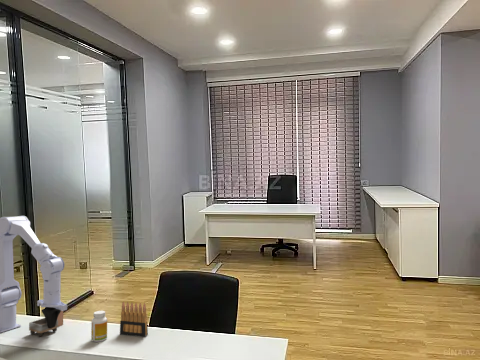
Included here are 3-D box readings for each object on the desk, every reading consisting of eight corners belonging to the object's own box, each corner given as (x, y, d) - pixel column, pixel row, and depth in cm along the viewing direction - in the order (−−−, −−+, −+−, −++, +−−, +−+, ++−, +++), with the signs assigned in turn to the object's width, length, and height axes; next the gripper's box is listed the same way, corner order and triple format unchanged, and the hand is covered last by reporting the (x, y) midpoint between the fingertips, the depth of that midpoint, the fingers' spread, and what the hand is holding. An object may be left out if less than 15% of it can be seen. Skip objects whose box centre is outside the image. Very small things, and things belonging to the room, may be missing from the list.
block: (47, 326, 151) (47, 311, 151) (56, 323, 154) (56, 308, 154) (54, 328, 149) (54, 312, 149) (63, 324, 152) (63, 309, 153)
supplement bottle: (110, 337, 138) (110, 311, 139) (99, 343, 134) (99, 315, 134) (99, 335, 141) (99, 309, 141) (88, 340, 136) (88, 313, 136)
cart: (29, 334, 142) (29, 322, 142) (46, 328, 148) (46, 317, 148) (40, 337, 139) (41, 325, 139) (57, 331, 145) (58, 320, 145)
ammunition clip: (147, 335, 141) (148, 302, 141) (145, 337, 139) (145, 304, 140) (122, 332, 144) (122, 300, 144) (119, 334, 142) (119, 302, 142)
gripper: (29, 290, 142) (29, 327, 141) (55, 295, 135) (54, 334, 134) (47, 286, 148) (46, 321, 147) (72, 291, 141) (71, 328, 141)
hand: (51, 327), depth 141 cm, fingers closed
